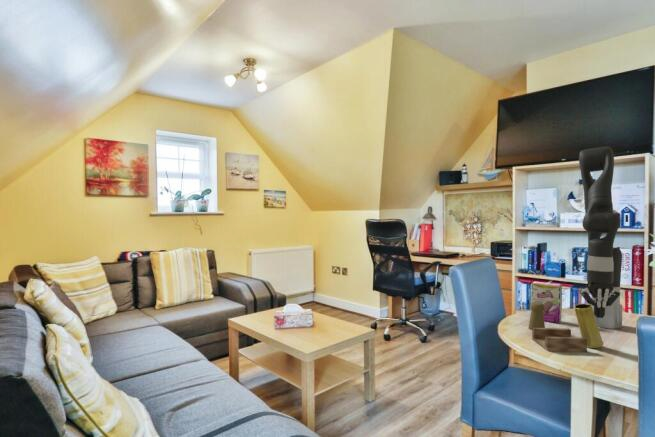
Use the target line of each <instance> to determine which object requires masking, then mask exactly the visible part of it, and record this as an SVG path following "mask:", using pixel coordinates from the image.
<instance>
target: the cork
mask: <svg viewBox="0 0 655 437" xmlns="http://www.w3.org/2000/svg"><path fill="white" fill-rule="evenodd" d="M529 304H530V305H529V309H530V316H529V321H528V330H530V331H532V328H546V326H545V321H544V317H543V311H544V305H543V304H542V303H539V302H532V303H531V302H530V303H529Z"/></svg>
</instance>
